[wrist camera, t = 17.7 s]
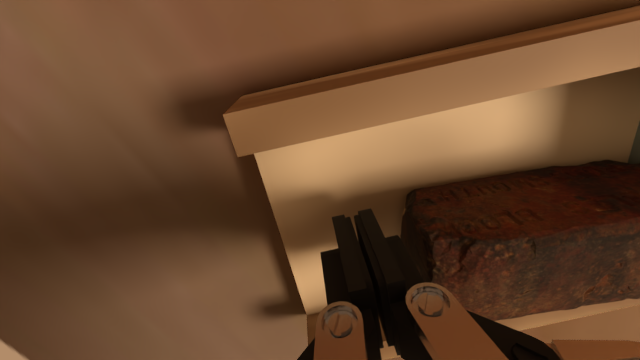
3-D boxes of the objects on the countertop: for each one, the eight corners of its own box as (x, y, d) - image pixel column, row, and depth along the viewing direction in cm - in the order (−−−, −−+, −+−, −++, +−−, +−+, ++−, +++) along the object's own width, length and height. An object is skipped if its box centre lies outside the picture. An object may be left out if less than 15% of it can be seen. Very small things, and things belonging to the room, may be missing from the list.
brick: (621, 148, 13) (778, 196, 9) (598, 220, 15) (721, 290, 11) (392, 187, 13) (440, 255, 9) (396, 255, 15) (437, 340, 10)
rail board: (600, 250, 17) (783, 372, 11) (311, 314, 18) (321, 471, 11) (672, -3, 12) (1147, -62, 5) (241, 95, 12) (179, 156, 5)
